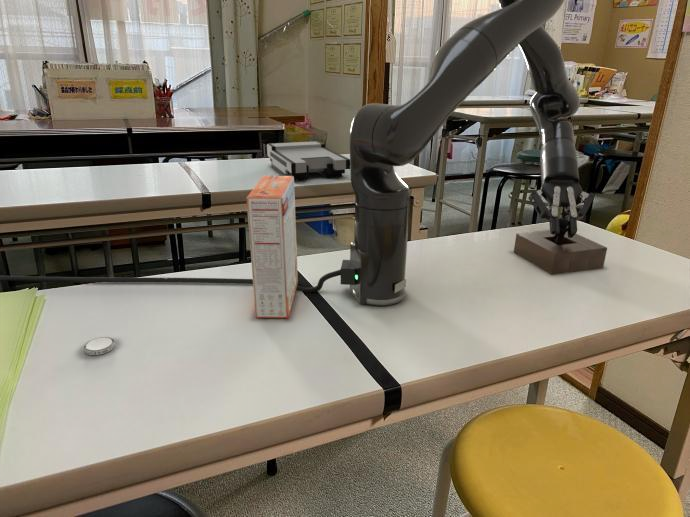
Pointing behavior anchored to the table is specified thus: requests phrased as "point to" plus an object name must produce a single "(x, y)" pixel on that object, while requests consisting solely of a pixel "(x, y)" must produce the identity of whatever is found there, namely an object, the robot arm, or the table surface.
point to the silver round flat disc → (99, 346)
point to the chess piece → (562, 229)
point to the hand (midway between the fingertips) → (564, 235)
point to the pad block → (559, 252)
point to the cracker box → (273, 245)
